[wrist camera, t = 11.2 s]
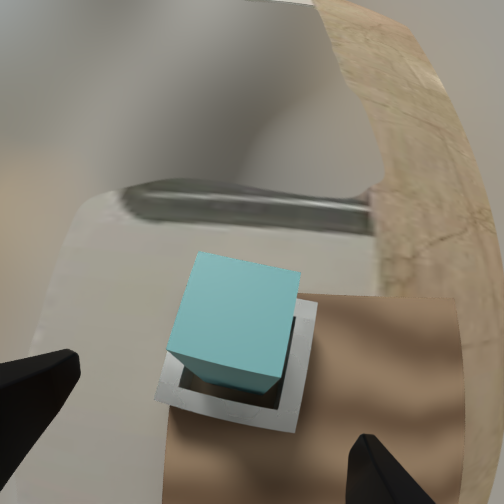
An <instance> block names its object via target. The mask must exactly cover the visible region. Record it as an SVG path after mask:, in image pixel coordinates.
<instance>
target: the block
mask: <svg viewBox="0 0 504 504" xmlns="http://www.w3.org/2000/svg"><path fill="white" fill-rule="evenodd" d="M300 275H301V273H300V272H296V271H291V270H286V269H281V268H276V267H271V266H267V265H262V264H257V263H252V262H248V261H243V260H238V259H233V258H229V257H224V256H219V255H215V254H210V253H205V252H201V251H198V254H197V257H196V260H195V263H194V266H193V269H192V271H191V274H190V277H189V280H188V283H187V286H186V289H185V292H184V295H183V298H182V301H181V304H180V307H179V310H178V313H177V316H176V319H175V322H174V326H173V329H172V332H171V335H170V338H169V341H168V345H167V348H166V350H167V351H168V352H170V353H171V354H172V355H173V356H174V357H175V358H176V359H178V360H179V361H180V362H181V363H182V364H183V365H185V366H186V367H187V368H188V369H189V370H191V371H192V372H193V373H194V374H195V375H197V376H198V377H199V378H200V379H202V380H203V381H204V382H206V383H210V384H214V385H218V386H222V387H226V388H230V389H234V390H239V391H243V392H248V393H252V394H257V395H262V396H263V395H264V394H265V393H266V392H267V391H268V390H269V389H270V388H271V387H272V386H273V385H274V384H275V383H276V382H277V381H278V380H279V379H280V378H281V375H282V370H283V366H284V361H285V356H286V351H287V346H288V341H289V336H290V330H291V325H292V320H293V314H294V309H295V303H296V298H297V292H298V286H299V281H300Z"/></svg>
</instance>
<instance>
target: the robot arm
mask: <svg viewBox="0 0 504 504" xmlns="http://www.w3.org/2000/svg"><path fill="white" fill-rule="evenodd" d="M80 375H81V370H80V361H79V355H78V354H77V353H76V352H74V351H72V350H70V349H63V350H59V351H55V352H50V353H46V354H42V355H37V356H33V357H28V358H24V359H19V360H14V361H10V362H5V363H0V491H1V490H2V489H3V487H4V486H5V484H6V483H7V481H8V480H9V479H10V477H11V476H12V474H13V473H14V472H15V470H16V469H17V467H18V466H19V465H20V463H21V462H22V460H23V459H24V458H25V456H26V455H27V454H28V452H29V451H30V449H31V448H32V447H33V445H34V444H35V443H36V441H37V440H38V439H39V437H40V436H41V435H42V433H43V432H44V431H45V429H46V428H47V427H48V426H49V424H50V423H51V422H52V420H53V419H54V418H55V416H56V415H57V414H58V412H59V411H60V409H61V408H62V406H63V405H64V403H65V401H66V400H67V398H68V396H69V395H70V393H71V391H72V390H73V388H74V387H75V385H76V383H77V382H78V380H79V378H80ZM345 504H436V503H435V502H434V501H433V499H432V498H431V497H430V496H429V495H428V494H427V493H426V492H425V491H424V490H423V489H422V487H421V486H420V485H419V484H418V483H417V482H416V481H415V480H414V479H413V477H412V476H411V475H410V474H409V473H408V472H407V471H406V470H405V469H404V467H403V466H402V465H401V464H400V463H399V462H398V461H397V460H396V459H395V457H394V456H393V455H392V454H391V453H390V452H389V451H388V449H387V448H386V447H385V446H384V445H383V444H382V443H381V442H380V440H379V439H378V438H377V437H376V436H375V435H374V434H366V433H363V434H361V435H360V436H359V437H358V439H357V440H356V442H355V443H354V445H353V446H352V448H351V449H350V451H349V455H348V468H347V481H346V493H345Z"/></svg>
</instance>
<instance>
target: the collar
mask: <svg viewBox="0 0 504 504" xmlns="http://www.w3.org/2000/svg"><path fill="white" fill-rule="evenodd" d="M317 305H318V302H313V301H308V300H302V299H297V298H296V303H295V309H294V314H293V320H292V325H291V330H290V336H289V341H288V346H287V351H286V356H285V361H284V366H283V370H282V375H281V378H280V379H279V383H278V388H277V393H276V398H275V402H274V407H273V409H268V408H263V407H258V406H253V405H248V404H243V403H239V402H234V401H230V400H226V399H221V398H217V397H213V396H209V395H205V394H202V393H198V392H194V391H191V390H189V388H190V384H191V381H192V377H193V372H192V371H191V370H189V369H188V368H187V367H186V366H185V365H183V364H182V363H181V362H180V361H179V360H178V359H176V358H175V357H174V356H173V355H172V354H171V353H170V352H167V355H166V358H165V362H164V365H163V369H162V372H161V376H160V379H159V383H158V386H157V390H156V393H155V397H154V400H156V401H159V402H162V403H165V404H168V405H171V406H175V407H178V408H181V409H185V410H188V411H192V412H195V413H199V414H203V415H207V416H210V417H214V418H218V419H223V420H227V421H231V422H236V423H240V424H245V425H250V426H255V427H260V428H266V429H271V430H277V431H283V432H290V433H295V430H296V425H297V420H298V416H299V411H300V406H301V401H302V396H303V390H304V385H305V380H306V374H307V368H308V363H309V357H310V351H311V345H312V339H313V332H314V326H315V319H316V312H317Z"/></svg>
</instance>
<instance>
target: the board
mask: <svg viewBox="0 0 504 504" xmlns="http://www.w3.org/2000/svg"><path fill="white" fill-rule="evenodd" d="M186 286H187V285H186ZM297 299H302V300H308V301H313V302H318V305H317V312H316V319H315V326H314V332H313V339H312V345H311V351H310V357H309V363H308V368H307V374H306V380H305V385H304V390H303V396H302V401H301V406H300V411H299V416H298V420H297V425H296V430H295V433H290V432H283V431H277V430H271V429H266V428H260V427H255V426H250V425H245V424H240V423H236V422H231V421H227V420H223V419H218V418H214V417H210V416H207V415H203V414H199V413H195V412H192V411H188V410H185V409H181V408H178V407H175V406H171V405H170V408H169V417H168V428H167V438H166V450H165V463H164V477H163V494H162V504H345V493H346V481H347V468H348V455H349V451H350V449H351V448H352V446H353V445H354V443H355V442H356V440H357V439H358V437H359V436H360V435H361V434H363V433H366V434H374V435H375V436H376V437H377V438H378V439H379V440H380V442H381V443H382V444H383V445H384V446H385V447H386V448H387V449H388V451H389V452H390V453H391V454H392V455H393V456H394V457H395V459H396V460H397V461H398V462H399V463H400V464H401V465H402V466H403V467H404V469H405V470H406V471H407V472H408V473H409V474H410V475H411V476H412V477H413V479H414V480H415V481H416V482H417V483H418V484H419V485H420V486H421V487H422V489H423V490H424V491H425V492H426V493H427V494H428V495H429V496H430V497H431V498H432V499H433V501H434V502H435V503H436V504H458V502H459V495H460V488H461V480H462V470H463V459H464V442H465V388H464V371H463V359H462V348H461V340H460V332H459V324H458V318H457V311H456V305H455V300H454V298H411V297H374V296H347V295H325V294H306V293H297ZM278 383H279V380H278V381H277V382H276V383H275V384H274V385H273V386H272V387H271V388H270V389H269V390H268V391H267V392H266V393H265V394H264V395H263V396H262V395H257V394H252V393H248V392H243V391H239V390H234V389H230V388H226V387H222V386H218V385H214V384H210V383H206V382H204V381H203V380H202V379H200V378H199V377H198V376H197V375H195V374H194V373H193V377H192V381H191V384H190V388H189V390H191V391H194V392H198V393H202V394H205V395H209V396H213V397H217V398H221V399H226V400H230V401H234V402H239V403H243V404H248V405H253V406H258V407H263V408H268V409H273V407H274V402H275V398H276V393H277V388H278Z"/></svg>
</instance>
